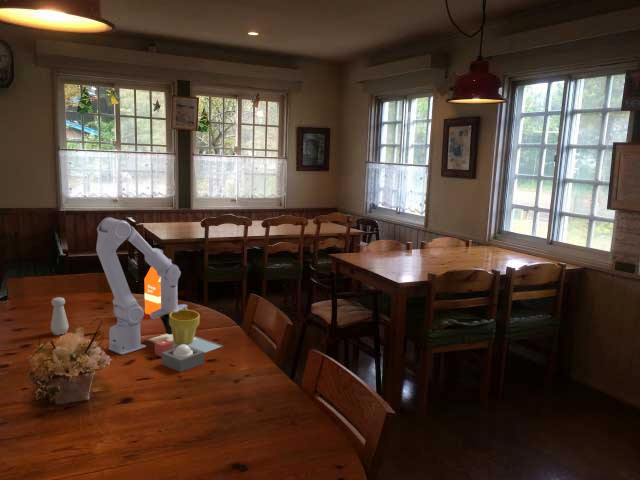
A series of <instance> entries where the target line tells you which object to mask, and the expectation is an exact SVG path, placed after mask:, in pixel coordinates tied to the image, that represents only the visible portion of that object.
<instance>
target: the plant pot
mask: <svg viewBox="0 0 640 480" xmlns="http://www.w3.org/2000/svg"><path fill="white" fill-rule="evenodd" d="M200 315H201V314H199V312H198V311H196V310H191V309H187V310H179V312H178V313H173V312H171V313H170V314H169V325H170V326H171V329H172V334H173V340H174V342H175V343H177V344H190V343H192V342H193V339H194V336H196V331H197V327H198V326H199V325H200V321H201V320H200V319H201V317H200Z"/></svg>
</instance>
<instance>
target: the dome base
mask: <svg viewBox="0 0 640 480" xmlns="http://www.w3.org/2000/svg"><path fill="white" fill-rule="evenodd" d="M189 347H190V346H189ZM190 349H191V350H192V351H193V354H192V355H189V356H186V357H183V358H180V357H177V356H175V355H173V352H174V351H175V350H176V348H174V349H171V350H168V351H165V352H162V357H161V365H162V366H165V367H167V368H170V369H172V370H174V371H176V372H179V373H182V372H185V371H188V370H190V369H193V368H196V367H198V366H202V365H205V353H204V352H203V351H201V350H198V349H195V348H192V347H190Z"/></svg>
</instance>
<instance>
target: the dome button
mask: <svg viewBox="0 0 640 480" xmlns="http://www.w3.org/2000/svg"><path fill="white" fill-rule="evenodd" d="M192 354H193V351H192V350H191V349H190V347H189V346H188V345H185V344H182V345H179V346H178V347H177V348H176V350H175V351H174V352H173V355H175V356H177V357H180V358H183V357H186V356H189V355H192Z"/></svg>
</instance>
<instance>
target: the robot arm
mask: <svg viewBox="0 0 640 480" xmlns="http://www.w3.org/2000/svg"><path fill="white" fill-rule="evenodd" d="M96 231H97V240H96V245H95V246H96V247H95V250H96V254H97V256H98V258H99V261H100V263H101V266H102V269H103V271H104V274H105V277H106V280H107V283H108V285H109V287H110V290H111V293H112V294H113V300H112V304H113V314H114V316H115V317H116V318H117V319H116V320H117V321H116V322H117V323H116V324H114V325H113V326H111V327H110V328H109V331H108V338H109V339H108V340H109V342H108V343H109V347H108V348H107V349H108V350H110V351H112V352H114V353H116V354H119V355H121V356H122V355H126V354H128V353H132V352H136V351H138V350H141V349H145V348H147V345H146V344H143V343H141V342H142V340H141V338H142V336H141V321H142V320H143V319H144V316H145V310H144V309H143V308H142V306H141V305H139V303H138V300H137V299H136V298H135V296H133V294H132V292H131V290H130V286H129V284H128V282H127V279H126V276H125V273H124V270H123V268H122V265H121V262H120V260H119V256H118V255H117V252H116V251H117V250H118V248H119V247H120V245H122V244H123V243H124V242H125V241H128V242H130V243H131V244H132V245H133V246H134V247H135V248H136V249H137V250H139V251H140V252H141V253H142V255H144V261H145V262H146V263H147V264H148V265H149V266H150V268H151V267H153V268H154V269H155V270H156V271H157V275H158V276H160V277H161V278H160V281H161V308H160V309H158V310H156V311H154V312H151V313H150V315H149V316H150V317H149V318H150V319H153V320H156V319H160V320H161V321H162V324H163V327H164V329H165V334H169V335H171V334H172V329H171V326H170V325H169V314H170V313H171V312H173V313H178V312H179V310H188V304H186V303H182V304H178V302H179V301H178V300H179V299H178V284H179V278H180V277H181V273H182V271H180V268H179V266H178V265H177V264H174V263H172V261H173V260H172V259H171V258H168V257H167V256H166V255H165V254H164V251H163V249H160V248H157V247H154V248H153V247H152V245H150V244H149V243H148V241H146V240H145V239H144V238H143V236H142V235H141V234H140V233H139V232H138V231H137V230H136V229H135V227H134V226H132V225H130V223H129V222H128V221H126V220H122V219H116V218H114V217H112V216H111V217H105V218H103V219H102V220H101V221H100V223H99V224H98V226H97V228H96ZM158 317H160V318H158Z"/></svg>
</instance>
